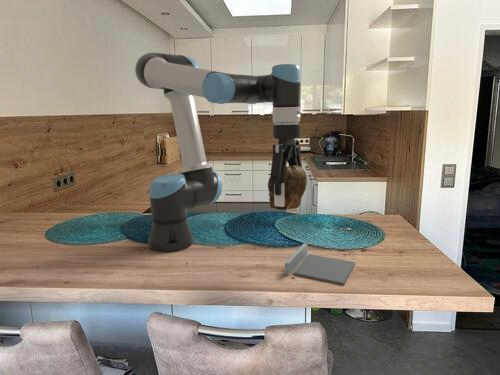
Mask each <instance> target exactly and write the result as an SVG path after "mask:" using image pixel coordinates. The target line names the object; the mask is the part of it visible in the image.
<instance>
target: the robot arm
mask: <svg viewBox="0 0 500 375" xmlns="http://www.w3.org/2000/svg"><path fill="white" fill-rule="evenodd" d="M134 71H135V72H134V73H135V76H136V79H137V80H138V81H139V83H141V84H142V85H143V86H145V87H147V88H150V89H155V90H156V89H157V90H162V91H163V95H164V96H163V97H164V98H166V99H167V100H168V101H169V102H170V109H171V114H172V117H173V123H174V127H175V132H176V137H177V143H178V147H179V153H180V158H181V163H182V168H181V170H180V171H179V173H170V174H163V175H159V176H157V177H155V178H154V179H152V180H151V181H150V182H149V192H148V194H149V199H150V213H151V223H152V224H151V227H150V231H149V236H148V239H147V240H148V241H147V242H148V248H150V249H151V250H152V251H155V252H162V253H163V252H165V253H166V252H169V253H170V252H176V251H181V250H184V249H187V248H189V247H191V246H192V245H193V244H194V235H193V232H192V230H191V229H192V228H190V225H189V222H188V212H187V211H188V210H192V209H193V210H194V209H196V208H200V207H204V206H209V205H211V204H213V203H215V202H217V201H218V200H219V198H220V197H221V195H222V192H223V182H222V178H221V176H220V175H219V174H218V173H217V172H215V171H213V166H212V165H211V164H209V163H208V161H207V157H206V152H205V146H204V143H203V142H204V141H203V136H202V131H201V127H200V123H199V122H200V120H199V117H198V112H197V106H196V101H195V96H197V97H200V98H204V99H206V100H207V102H208V103H212V104H219V105H223V104H224V105H225V104H249V105H250V104H252V105H256V104H262V103H264V104H265V103H272V123H273V126H272V135H273V136H272V138H274V139H276V140H278V141H277V142H278V143H277V144H273V145H272V160H271V169H270V175H269V176H270V177H269V178H270V182H271V183H274V206H279V207H284V206H285V194H284V183H283V178H284V174H285V169H286V166H289V165H291V166H294V165H296V166H300V167H301V168H302V169H303V165H302V158H301V156H302V155H301V149H300V140H296V139H299V138H301V125H300V124H299V123H300V122H301V115H302V114H303V113H302V112H303V111H302V110H301V83H302V81H301V72H300V67H299V66H298V64H295V63H281V64H275V65H273V66H272V67H271V72H270V73H271V74H264V75H251V74H250V75H247V74H234V73H226V72H221V71H216V70H209V69H205V68H200V67H199V64H198V63H197V62H196V61H195V60H194V58H191V57H190V56H186V55H182V54H170V53H162V52H161V53H159V52H148V53H145V54H143V55H141V56H140V57H139V58H138V59H137V62H136V64H135V68H134ZM287 164H288V165H287Z"/></svg>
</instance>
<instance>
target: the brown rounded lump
mask: <svg viewBox="0 0 500 375" xmlns="http://www.w3.org/2000/svg"><path fill="white" fill-rule="evenodd" d="M305 171H306V170H304V169H303V167H302V168H301V167H300V166H296V165H294V166H291V165H289V164H288V165H286V169H285V174H284V178H283V183H284V194H285V206H284V207H279V206H274V183H271V182H270V177H269V178H268V182H267V189H268V192H269V193H268V194H269V197H268V198H269V205H270V208H271V209H275V210H280V211H282V210H283V211H285V210H292V209H294V210H295V209H299V207H300V205H302V204H301V203H302V198H303V195H304V193H305V191H306V189H307V183H308V181H307V179H308V176H307V174H306V172H305Z"/></svg>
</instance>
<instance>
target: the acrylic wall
mask: <svg viewBox="0 0 500 375" xmlns="http://www.w3.org/2000/svg"><path fill="white" fill-rule="evenodd" d="M308 245H309V244H308V243H305V242H304V243H302V244H301V245H300V247H299V248H298V249H297V250H296V251H295V252H294V253H293V254H291V256H290V257H289V258H288V259H287V260H286V261H285V262H284V275H285V276H289V275H291V274H292V273H293V272H294V271H295V270H296V269H297V268H298V266H299V265H300V264H301V263H302V262H303V261H304V259H305V258H306V257H307V256H308Z"/></svg>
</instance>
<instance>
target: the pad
mask: <svg viewBox="0 0 500 375" xmlns="http://www.w3.org/2000/svg"><path fill="white" fill-rule="evenodd" d="M355 265H356V262H355V261H350V260H345V259H341V258H340V259H338V258H333V257H326V256H321V255H316V254H311V253H309V254H307V255H306V256H305V257H304V259H303V260H302V261H301V262H300V263H299V264H298V265H297V267H296V268H295V269H294V270H293V271H292V275H293V276H298V277H299V276H300V277H302V278H303V277H304V278H308V279H313V280H317V281H322V282H326V283H332V284H336V285H341V286H345V284H346V282H347V281H348V278H349V276H350V274H351V273H352V271H353V269H354V267H355Z"/></svg>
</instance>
